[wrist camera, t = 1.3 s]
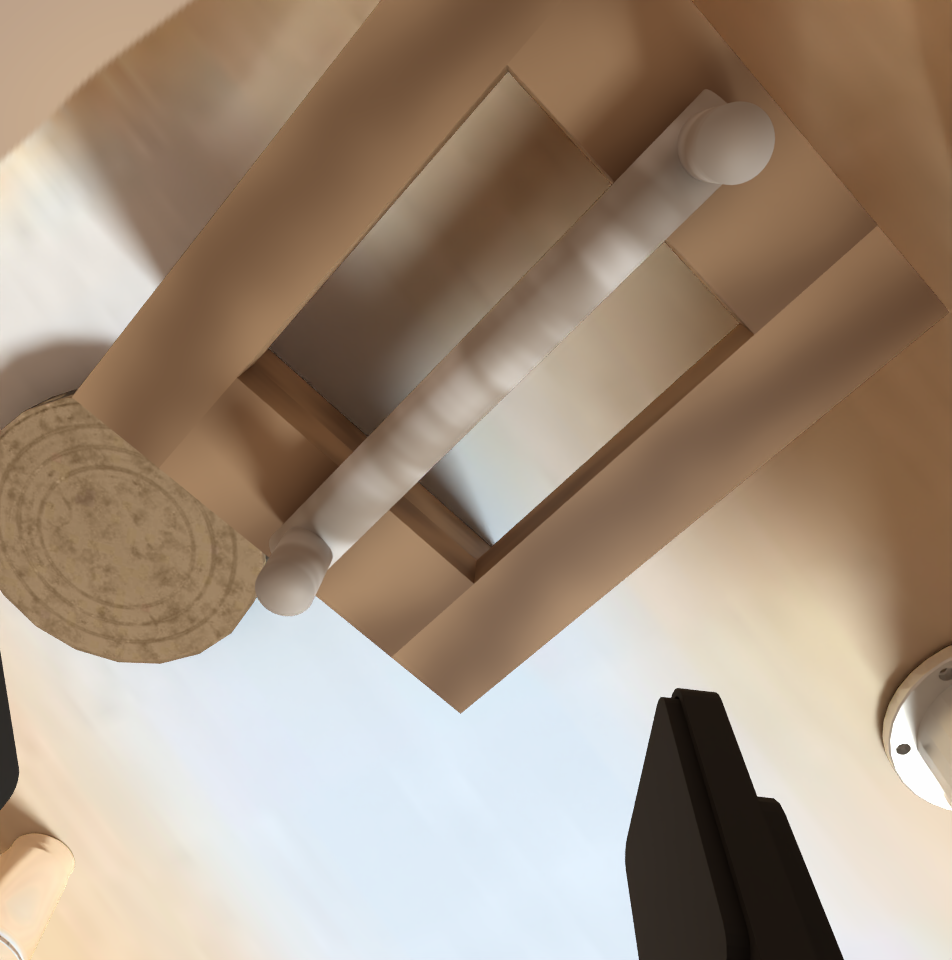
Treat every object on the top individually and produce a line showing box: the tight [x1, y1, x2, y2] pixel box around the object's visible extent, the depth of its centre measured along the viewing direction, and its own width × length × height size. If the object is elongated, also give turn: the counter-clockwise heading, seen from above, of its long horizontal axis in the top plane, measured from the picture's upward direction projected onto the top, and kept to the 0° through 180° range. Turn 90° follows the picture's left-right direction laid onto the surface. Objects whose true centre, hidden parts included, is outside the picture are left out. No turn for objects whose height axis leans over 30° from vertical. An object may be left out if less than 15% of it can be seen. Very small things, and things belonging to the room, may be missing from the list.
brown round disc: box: [0, 389, 269, 664], centre depth 44 cm, size 16×16×3 cm
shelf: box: [72, 0, 949, 714], centre depth 31 cm, size 20×24×17 cm
